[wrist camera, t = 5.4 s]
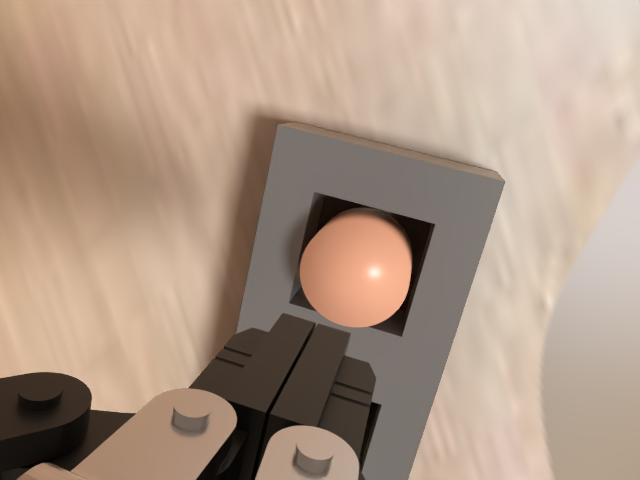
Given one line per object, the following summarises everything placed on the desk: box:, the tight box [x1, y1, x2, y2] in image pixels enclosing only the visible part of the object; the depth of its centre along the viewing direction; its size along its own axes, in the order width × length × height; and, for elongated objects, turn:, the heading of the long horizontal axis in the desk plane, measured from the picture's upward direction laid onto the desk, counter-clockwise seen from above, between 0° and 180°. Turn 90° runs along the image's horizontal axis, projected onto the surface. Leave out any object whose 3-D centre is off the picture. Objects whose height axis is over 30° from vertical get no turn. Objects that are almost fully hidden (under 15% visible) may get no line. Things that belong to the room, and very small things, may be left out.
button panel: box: [236, 122, 505, 480], centre depth 22 cm, size 22×8×2 cm, turn 167°
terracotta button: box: [300, 208, 413, 327], centre depth 19 cm, size 4×4×2 cm
